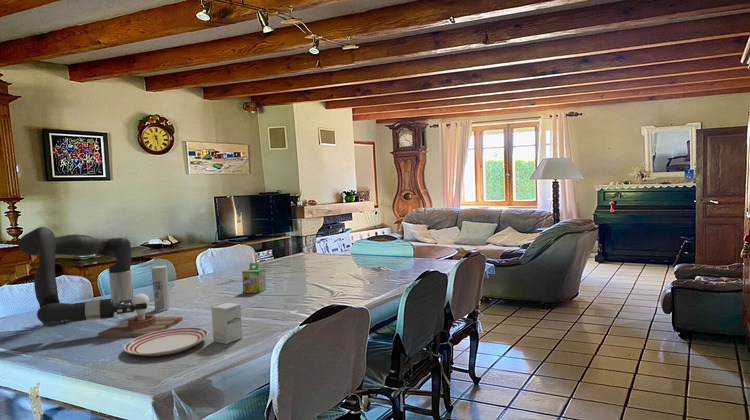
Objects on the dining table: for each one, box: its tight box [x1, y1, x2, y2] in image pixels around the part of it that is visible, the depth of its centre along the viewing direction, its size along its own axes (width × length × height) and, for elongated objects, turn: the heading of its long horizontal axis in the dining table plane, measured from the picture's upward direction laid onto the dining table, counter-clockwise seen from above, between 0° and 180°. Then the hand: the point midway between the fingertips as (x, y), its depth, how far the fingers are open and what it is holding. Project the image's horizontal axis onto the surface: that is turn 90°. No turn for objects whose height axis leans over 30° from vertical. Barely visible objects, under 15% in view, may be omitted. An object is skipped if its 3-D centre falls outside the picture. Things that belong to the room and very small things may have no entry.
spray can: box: [151, 265, 171, 312], centre depth 224 cm, size 6×6×20 cm
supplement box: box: [211, 302, 243, 345], centre depth 173 cm, size 7×7×13 cm
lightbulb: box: [132, 293, 150, 321], centre depth 194 cm, size 6×6×11 cm
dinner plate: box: [123, 326, 210, 357], centre depth 169 cm, size 27×27×3 cm
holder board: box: [97, 314, 183, 338], centre depth 194 cm, size 22×22×4 cm
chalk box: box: [241, 262, 267, 294], centre depth 254 cm, size 9×9×15 cm
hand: (147, 303), depth 195 cm, fingers closed on lightbulb, 6 cm apart
